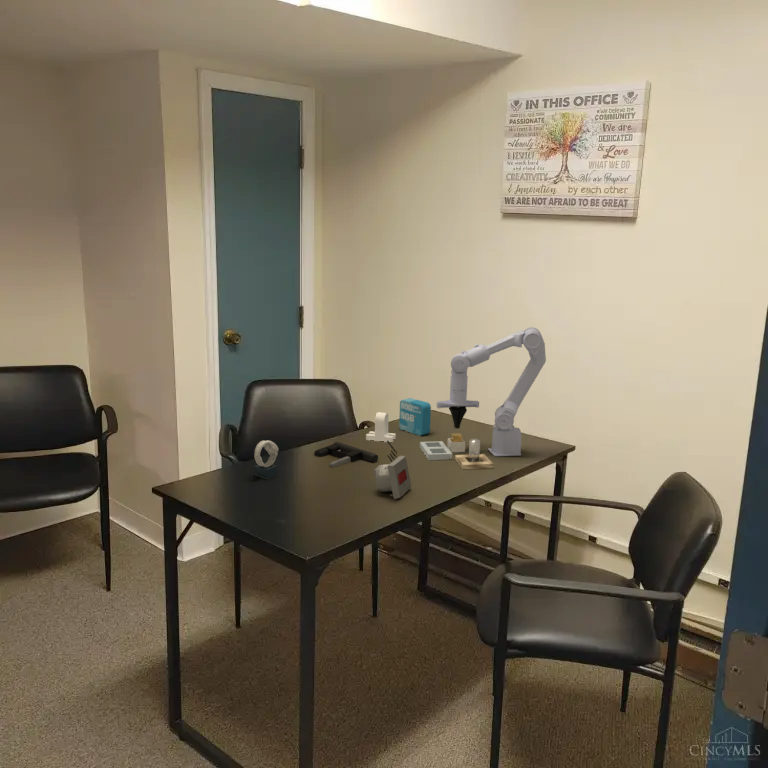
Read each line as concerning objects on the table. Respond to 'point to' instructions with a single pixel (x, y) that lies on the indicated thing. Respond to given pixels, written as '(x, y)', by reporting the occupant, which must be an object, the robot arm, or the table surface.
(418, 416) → the data package
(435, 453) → the frame
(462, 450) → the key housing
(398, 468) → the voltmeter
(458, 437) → the key
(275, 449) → the grey ring on stand
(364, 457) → the submachine gun
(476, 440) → the grey rounded cylinder
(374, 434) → the cable organizer
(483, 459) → the wooden square frame
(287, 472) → the table surface
